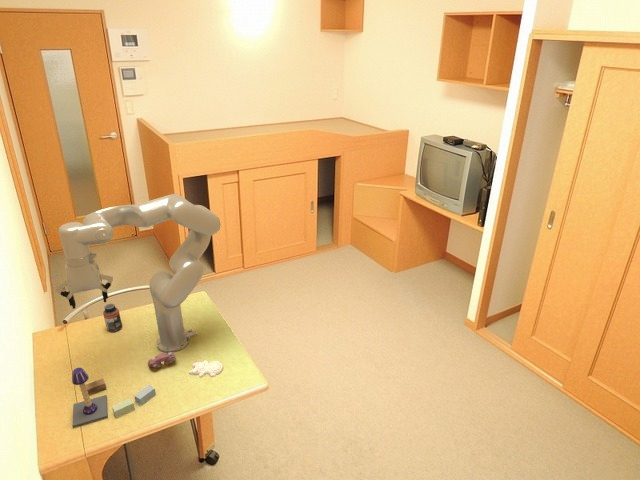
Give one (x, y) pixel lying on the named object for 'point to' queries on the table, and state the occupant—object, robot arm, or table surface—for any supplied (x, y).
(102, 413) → the pad
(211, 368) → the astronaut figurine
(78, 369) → the toy lamp
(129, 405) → the brick
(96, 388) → the brick
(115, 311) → the supplement bottle
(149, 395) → the brick
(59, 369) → the table surface
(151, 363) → the video game controller
